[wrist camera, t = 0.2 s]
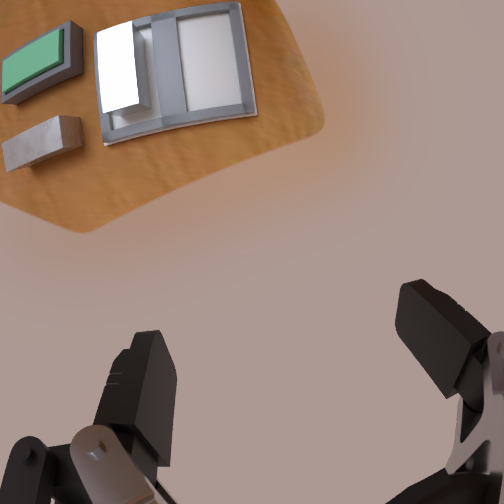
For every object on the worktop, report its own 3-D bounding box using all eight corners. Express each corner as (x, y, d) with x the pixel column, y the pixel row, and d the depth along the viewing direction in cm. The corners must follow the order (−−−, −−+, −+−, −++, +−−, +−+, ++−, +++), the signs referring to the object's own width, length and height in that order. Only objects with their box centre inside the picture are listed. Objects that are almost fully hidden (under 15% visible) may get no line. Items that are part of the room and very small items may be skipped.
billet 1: (26, 140, 29) (2, 143, 23) (80, 117, 29) (58, 115, 24) (30, 166, 30) (6, 172, 25) (84, 145, 31) (62, 147, 25)
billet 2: (114, 46, 25) (97, 32, 20) (144, 37, 26) (131, 21, 20) (121, 116, 29) (103, 113, 24) (151, 108, 29) (138, 102, 24)
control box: (16, 62, 23) (1, 59, 20) (82, 28, 24) (70, 20, 20) (16, 104, 26) (1, 103, 22) (83, 72, 27) (70, 66, 23)
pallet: (97, 37, 25) (90, 32, 23) (239, 6, 26) (240, -2, 24) (107, 145, 31) (100, 146, 29) (256, 115, 32) (258, 114, 30)
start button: (8, 62, 21) (2, 61, 19) (64, 31, 21) (58, 28, 20) (8, 92, 23) (2, 92, 21) (64, 62, 23) (58, 60, 22)
